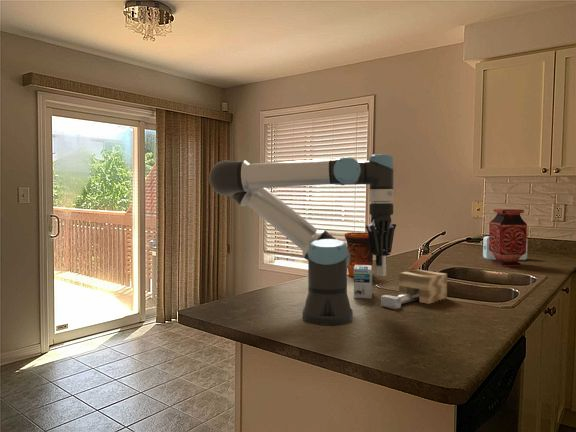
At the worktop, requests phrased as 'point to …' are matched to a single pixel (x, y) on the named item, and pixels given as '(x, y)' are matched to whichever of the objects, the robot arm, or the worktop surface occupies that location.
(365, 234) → the vessel
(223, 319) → the worktop surface
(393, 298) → the grey t-shaped bar
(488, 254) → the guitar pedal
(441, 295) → the block
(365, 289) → the light bulb box
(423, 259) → the keeper tab
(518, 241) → the vase
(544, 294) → the worktop surface
